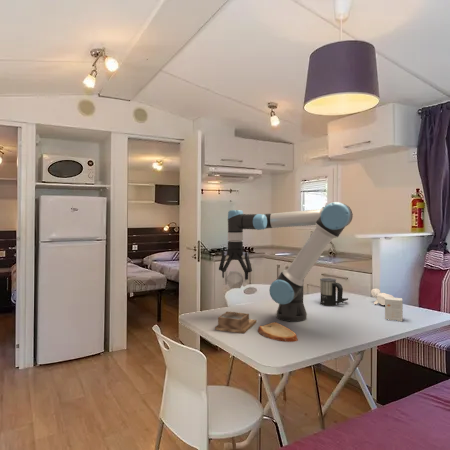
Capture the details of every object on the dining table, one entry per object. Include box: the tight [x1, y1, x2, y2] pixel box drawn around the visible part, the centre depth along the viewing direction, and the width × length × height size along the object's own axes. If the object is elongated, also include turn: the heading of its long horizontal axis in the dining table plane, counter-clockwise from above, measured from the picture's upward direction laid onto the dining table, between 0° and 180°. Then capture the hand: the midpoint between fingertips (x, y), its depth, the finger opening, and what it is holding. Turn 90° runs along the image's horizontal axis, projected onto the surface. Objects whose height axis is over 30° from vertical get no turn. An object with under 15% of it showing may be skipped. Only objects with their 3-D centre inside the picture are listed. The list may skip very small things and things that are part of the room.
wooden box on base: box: [214, 311, 257, 334], centre depth 175 cm, size 14×18×6 cm
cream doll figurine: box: [370, 288, 395, 306], centre depth 216 cm, size 9×8×15 cm
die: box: [227, 270, 243, 289], centre depth 187 cm, size 8×9×10 cm
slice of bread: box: [257, 321, 299, 343], centre depth 163 cm, size 18×18×4 cm
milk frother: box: [319, 277, 349, 307], centre depth 218 cm, size 14×16×15 cm
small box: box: [384, 297, 404, 322], centre depth 186 cm, size 8×6×10 cm
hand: (235, 285), depth 187 cm, fingers closed on die, 10 cm apart
